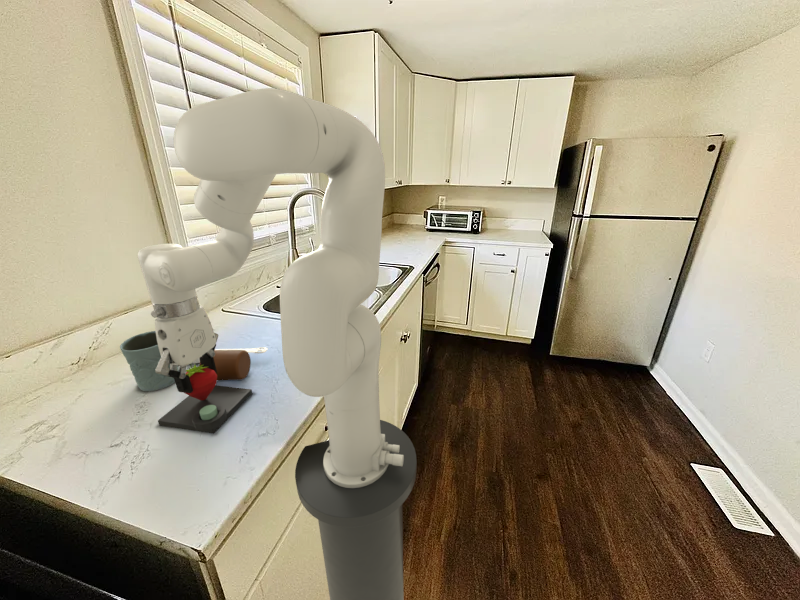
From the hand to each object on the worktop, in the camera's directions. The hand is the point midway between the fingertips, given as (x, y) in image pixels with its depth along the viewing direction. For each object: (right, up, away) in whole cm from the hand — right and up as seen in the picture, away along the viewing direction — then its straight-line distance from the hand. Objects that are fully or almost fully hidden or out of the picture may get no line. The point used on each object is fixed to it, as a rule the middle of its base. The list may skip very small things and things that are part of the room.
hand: (198, 381), depth 72 cm
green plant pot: (-17, -3, +11) cm, 20 cm away
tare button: (+5, -6, -5) cm, 9 cm away
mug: (+5, +1, +13) cm, 14 cm away
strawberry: (0, -5, +2) cm, 5 cm away
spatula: (-7, +1, +21) cm, 22 cm away
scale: (+2, -6, +1) cm, 7 cm away
